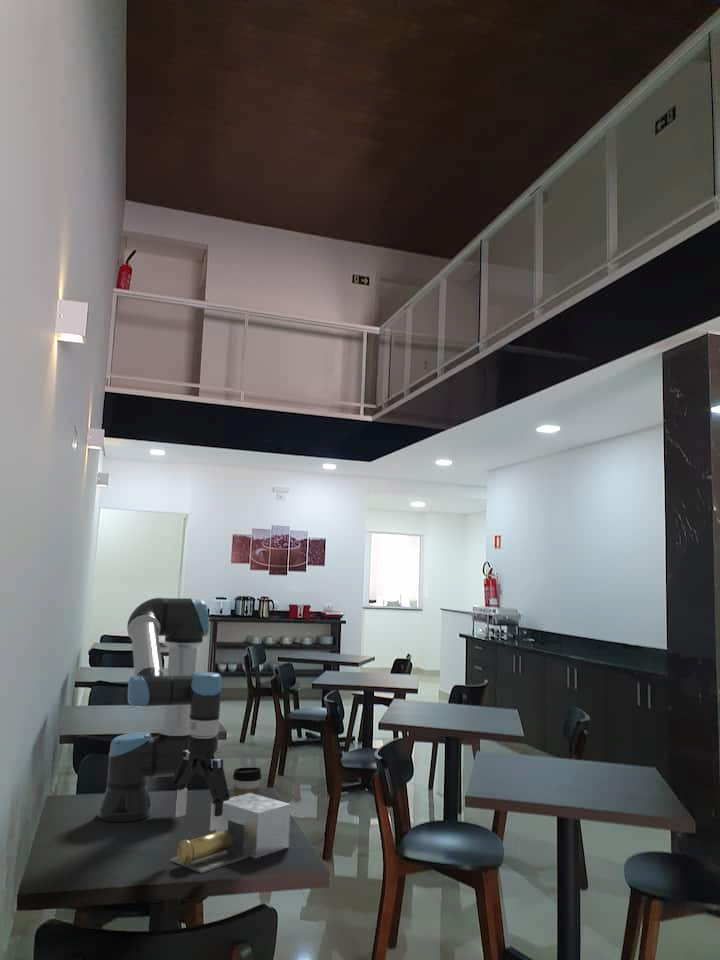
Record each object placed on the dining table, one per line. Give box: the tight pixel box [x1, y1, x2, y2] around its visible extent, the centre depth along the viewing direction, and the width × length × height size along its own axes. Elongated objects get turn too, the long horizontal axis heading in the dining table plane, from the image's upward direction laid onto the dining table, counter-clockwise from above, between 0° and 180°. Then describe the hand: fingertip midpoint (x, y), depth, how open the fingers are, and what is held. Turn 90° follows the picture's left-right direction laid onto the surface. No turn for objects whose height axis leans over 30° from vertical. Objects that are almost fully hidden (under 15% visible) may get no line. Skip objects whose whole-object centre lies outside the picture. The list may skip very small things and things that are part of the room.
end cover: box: [176, 830, 233, 865], centre depth 187 cm, size 6×14×6 cm, turn 141°
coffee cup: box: [232, 766, 262, 797], centre depth 220 cm, size 8×8×15 cm
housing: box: [170, 793, 291, 874], centre depth 193 cm, size 16×28×11 cm, turn 141°
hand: (197, 822), depth 186 cm, fingers open, 13 cm apart
